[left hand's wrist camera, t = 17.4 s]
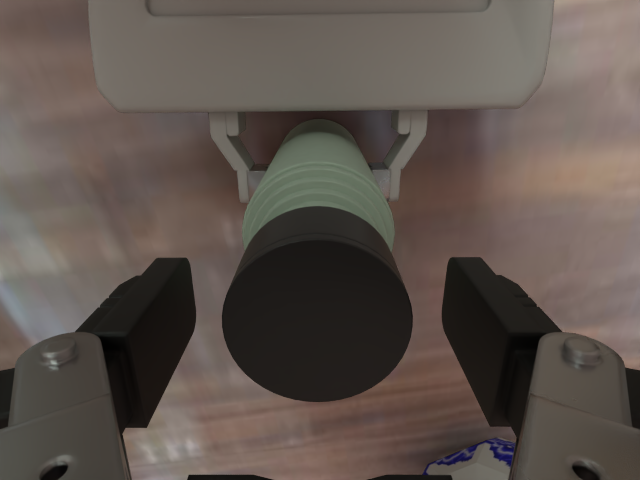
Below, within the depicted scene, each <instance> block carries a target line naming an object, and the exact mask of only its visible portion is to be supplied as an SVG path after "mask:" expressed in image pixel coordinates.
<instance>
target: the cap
mask: <svg viewBox="0 0 640 480" xmlns="http://www.w3.org/2000/svg"><path fill="white" fill-rule="evenodd" d="M412 323H413V315H412V308H411V303H410V300H409V296H408V293H407V291H406V289H405V286H404V283H403V281H402V278H401V276H400V273H399V271H398V268H397V266H396V263H395V261H394V258H393V256H392V253H391V251H390V249H389V247H388V245H387V243H386V242H385V240H384V239H383V237H382V236H381V235H380V233H379V232H378V231H377V230H376V229H375V228H374V227H373V226H372V225H370V224H369V223H368V222H367V221H365V220H364V219H362V218H361V217H359V216H357V215H355V214H353V213H351V212H348V211H345V210H342V209H339V208H333V207H327V206H308V207H302V208H297V209H293V210H290V211H287V212H285V213H283V214H281V215H279V216H276V217H275V218H273V219H272V220H270V221H269V222H267V223H266V224H265V225H264V226H263V227H262V228H260V230H259V231H258V232H257V233H256V234H255V235H254V236H253V238H252V239H251V241H250V242H249V244H248V246H247V248H246V250H245V252H244V255H243V257H242V259H241V262H240V264H239V267H238V269H237V271H236V274H235V276H234V278H233V281H232V283H231V285H230V288H229V290H228V292H227V295H226V298H225V302H224V305H223V312H222V328H223V334H224V338H225V341H226V344H227V347H228V349H229V351H230V353H231V355H232V357H233V359H234V360H235V362H236V363H237V365H238V366H239V367H240V368H241V369H242V370H243V372H244V373H245V374H246V375H247V376H249V377H250V378H251V379H252V380H253V381H254V382H256V383H257V384H259V385H260V386H262V387H263V388H265V389H267V390H269V391H271V392H273V393H276V394H278V395H281V396H283V397H287V398H291V399H294V400H300V401H308V402H327V401H335V400H341V399H345V398H348V397H352V396H354V395H357V394H360V393H362V392H364V391H366V390H368V389H370V388H372V387H373V386H375V385H376V384H378V383H379V382H381V381H382V380H383V379H384V378H385V377H386V376H388V375H389V374H390V373H391V372H392V370H393V369H394V368H395V367H396V366H397V364H398V363H399V362H400V360H401V359H402V357H403V355H404V353H405V351H406V349H407V347H408V344H409V341H410V338H411V332H412Z"/></svg>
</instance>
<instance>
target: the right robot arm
mask: <svg viewBox="0 0 640 480" xmlns="http://www.w3.org/2000/svg"><path fill="white" fill-rule="evenodd" d="M553 10H554V0H88V16H89V30H90V42H91V51H92V60H93V67H94V74H95V80H96V84H97V88H98V90H99V92H100V93H101V94H102V95H103V97H104V98H105V99H106V100H107V101H108V102H109V103H110V104H111V105H112V106H113V107H114V108H115V109H116V110H117V111H118V112H121V113H177V112H208V115H209V125H210V134H211V138H212V139H213V141H214V142H215V144H216V145H217V147H218V148H219V149H220V151H221V152H222V154H223V155H224V157H225V158H226V159H227V161H228V162H229V164H230V165H231V167H232V168H233V170H234V171H237V178H238V189H239V199H240V202H241V203H249V202H250V200H251V198H252V196H253V194H254V192H255V191H256V189H257V187H258V185H259V183H260V182H261V180H262V178H263V176H264V174H265V173H266V171H267V169H268V167H269V166H270V164H255V163H254V161H253V160H252V158H251V156H250V155H249V153H248V151H247V150H246V148H245V147H244V145H243V143H242V142H241V140H240V139H239V137H238V135H239V134H240V133H242V132H243V131H244V130H245V129H246V119H245V112H266V111H354V110H392V116H391V127H392V129H394V130H395V131H396V132H398V133H399V136H398V137H397V139H396V141H395V142H394V144H393V146H392V147H391V149H390V151H389V153H388V154H387V156H386V158H385V159H384V161H383V162H384V163H368V166H369V168H370V170H371V172H372V173H373V175H374V177H375V179H376V181H377V183H378V185H379V187H380V189H381V191H382V193H383V194H384V196H385V198H386V200H387V202H397V201H398V199H399V191H400V175H401V169H404V167H405V166H406V164H407V163H408V161H409V160H410V158H411V157H412V155H413V154H414V152H415V151H416V149H417V148H418V146H419V145H420V143H421V142H422V140H423V139H424V137H425V136H426V131H427V119H428V110H443V109H517V108H520V107H522V106H523V105H524V104H525V103H526V102H527V101H528V100H529V99H530V97H531V96H532V95H533V94H534V93H535V92H536V90H537V89H538V88H539V87H540V85H541V83H542V81H543V77H544V74H545V69H546V64H547V58H548V52H549V45H550V38H551V30H552V21H553Z"/></svg>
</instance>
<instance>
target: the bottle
mask: <svg viewBox="0 0 640 480" xmlns="http://www.w3.org/2000/svg"><path fill="white" fill-rule="evenodd" d="M308 206H327V207H333V208H339V209H342V210H345V211H348V212H351V213H353V214H355V215H357V216H359V217H361V218H362V219H364V220H365V221H367V222H368V223H369V224H370V225H372V226H373V227H374V228H375V229H376V230H377V231H378V232H379V233H380V235H381V236H382V237H383V239H384V240H385V242H386V243H387V245H388V247H389V249H390V251H391V253H392V249H393V244H394V236H395V228H394V220H393V215H392V212H391V209H390V207H389V204H388V202H387V200H386V198H385V196H384V194H383V193H382V191H381V189H380V187H379V185H378V183H377V181H376V179H375V177H374V175H373V173H372V172H371V170H370V168H369V166H368V164H367V162H366V160H365V158H364V156H363V154H362V153H361V151H360V149H359V147H358V145H357V143H356V141H355V139H354V138H353V136H352V135H351V133H350V132H349V131H348V130H347V129H345V128H344V127H343V126H341V125H340V124H338V123H336V122H333V121H330V120H326V119H313V120H308V121H305V122H303V123H301V124H299V125H297V126H296V127H294V128H293V129H292V130H291V131H290V132H289V133H288V134H287V136H286V137H285V139H284V140H283V142H282V144H281V146H280V148H279V149H278V151H277V153H276V155H275V157H274V158H273V160H272V162H271V164H270V166H269V167H268V169H267V171H266V173H265V174H264V176H263V178H262V180H261V182H260V183H259V185H258V187H257V189H256V191H255V192H254V194H253V196H252V198H251V200H250V202H249V204H248V206H247V209H246V211H245V214H244V219H243V226H242V238H243V245H244V250H246V248H247V246H248V244H249V242H250V241H251V239H252V238H253V236H254V235H255V234H256V233H257V232H258V231H259V230H260V228H262V227H263V226H264V225H265V224H266V223H267V222H269V221H270V220H272V219H273V218H275V217H276V216H279V215H281V214H283V213H285V212H287V211H290V210H293V209H297V208H302V207H308Z"/></svg>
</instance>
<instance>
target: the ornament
mask: <svg viewBox="0 0 640 480" xmlns="http://www.w3.org/2000/svg"><path fill="white" fill-rule="evenodd" d="M515 443H516V442H513V441H510V440H506V439H503V438H500V437H497V438H493V439H490V440H486V441H484V442H481V443H479V444H476V445H474V446H471V447H469V448H466V449H464V450H461V451H459V452H456V453H454V454H451V455H449V456H447V457H444V458H442V459H439V460H437V461H434V462H432V463H429V464H428V465H427V466H426V468H425V470H424V472H423V474H422V475H451V476H452V479H453V480H508V478H509V473H510V468H511V463H512V458H513V453H514V448H515Z"/></svg>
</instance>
